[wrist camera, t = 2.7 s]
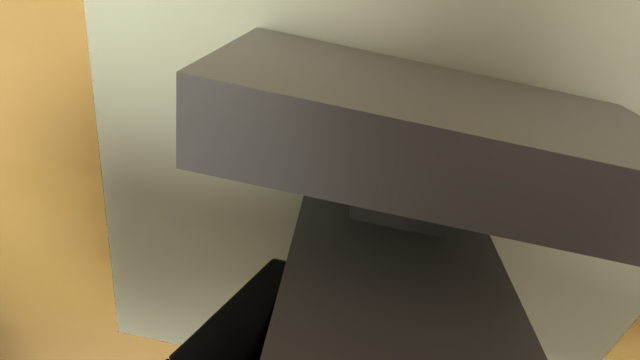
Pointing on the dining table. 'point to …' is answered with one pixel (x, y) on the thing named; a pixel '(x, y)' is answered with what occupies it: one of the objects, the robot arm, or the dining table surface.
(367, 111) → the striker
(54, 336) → the dining table surface
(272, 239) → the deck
